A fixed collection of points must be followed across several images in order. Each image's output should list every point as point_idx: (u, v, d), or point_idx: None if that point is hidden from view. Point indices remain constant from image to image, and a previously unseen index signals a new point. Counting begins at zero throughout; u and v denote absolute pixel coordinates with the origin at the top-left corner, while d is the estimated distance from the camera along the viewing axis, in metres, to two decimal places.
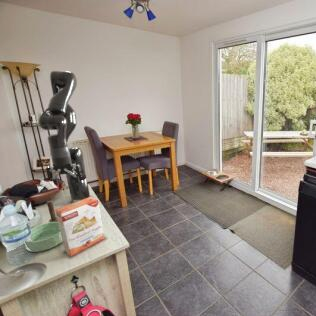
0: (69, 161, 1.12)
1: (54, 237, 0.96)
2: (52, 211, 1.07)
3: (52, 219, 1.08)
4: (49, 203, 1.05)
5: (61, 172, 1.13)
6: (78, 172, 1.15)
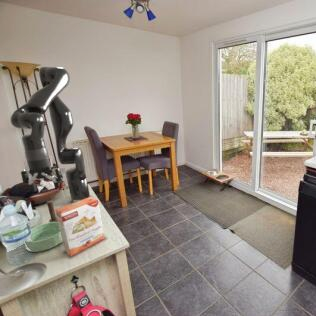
0: (47, 164, 1.00)
1: (54, 237, 0.96)
2: (52, 211, 1.07)
3: (52, 219, 1.08)
4: (49, 203, 1.05)
5: (38, 176, 1.00)
6: (58, 176, 1.02)
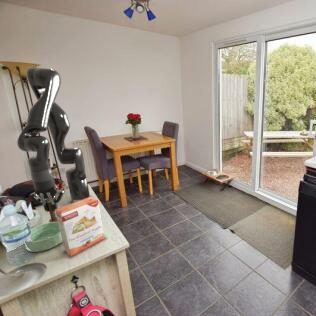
0: (52, 184, 1.03)
1: (54, 237, 0.96)
2: (52, 211, 1.07)
3: (52, 219, 1.08)
4: (49, 203, 1.05)
5: (44, 196, 1.03)
6: (58, 199, 1.05)
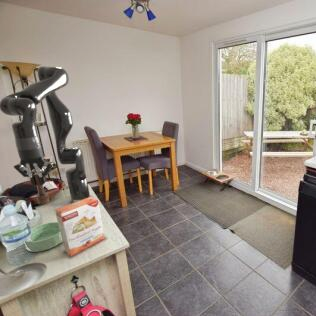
0: (40, 154, 0.93)
1: (54, 237, 0.96)
2: (40, 185, 0.97)
3: (40, 194, 0.98)
4: (36, 176, 0.96)
5: (30, 167, 0.94)
6: (46, 171, 0.96)
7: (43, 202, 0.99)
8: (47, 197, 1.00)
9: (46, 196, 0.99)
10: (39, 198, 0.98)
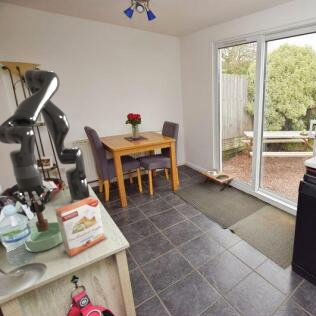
0: (39, 182, 0.90)
1: (54, 237, 0.96)
2: (39, 212, 0.94)
3: (39, 221, 0.95)
4: (35, 203, 0.93)
5: (29, 195, 0.91)
6: (45, 198, 0.93)
7: (42, 229, 0.96)
8: (47, 224, 0.97)
9: (46, 223, 0.96)
10: (38, 226, 0.95)
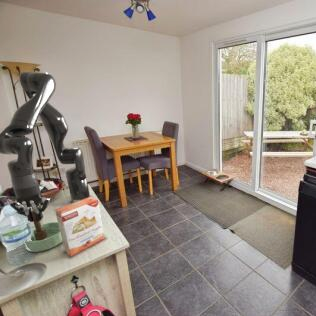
0: (36, 191, 0.91)
1: (54, 237, 0.96)
2: (37, 221, 0.95)
3: (37, 230, 0.96)
4: (33, 212, 0.93)
5: (27, 205, 0.91)
6: (43, 207, 0.94)
7: (40, 238, 0.96)
8: (44, 233, 0.98)
9: (43, 232, 0.97)
10: (36, 234, 0.95)
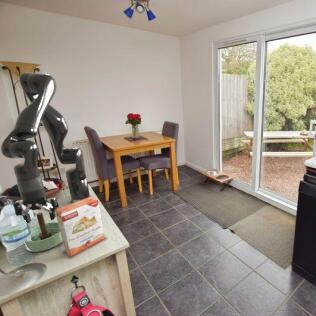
0: (42, 194, 0.92)
1: (54, 237, 0.96)
2: (42, 224, 0.96)
3: (42, 233, 0.97)
4: (39, 216, 0.94)
5: (32, 207, 0.93)
6: (54, 207, 0.95)
7: None
8: (50, 235, 0.99)
9: (49, 235, 0.98)
10: (42, 237, 0.97)
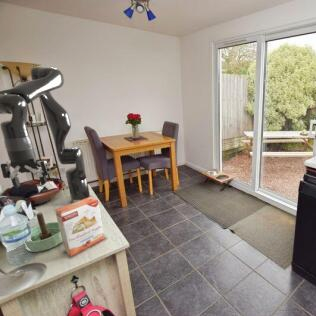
0: (31, 156, 0.87)
1: (54, 237, 0.96)
2: (42, 224, 0.96)
3: (42, 233, 0.97)
4: (39, 216, 0.94)
5: (21, 170, 0.87)
6: (44, 170, 0.89)
7: None
8: (50, 235, 0.99)
9: (49, 235, 0.98)
10: (42, 237, 0.97)
